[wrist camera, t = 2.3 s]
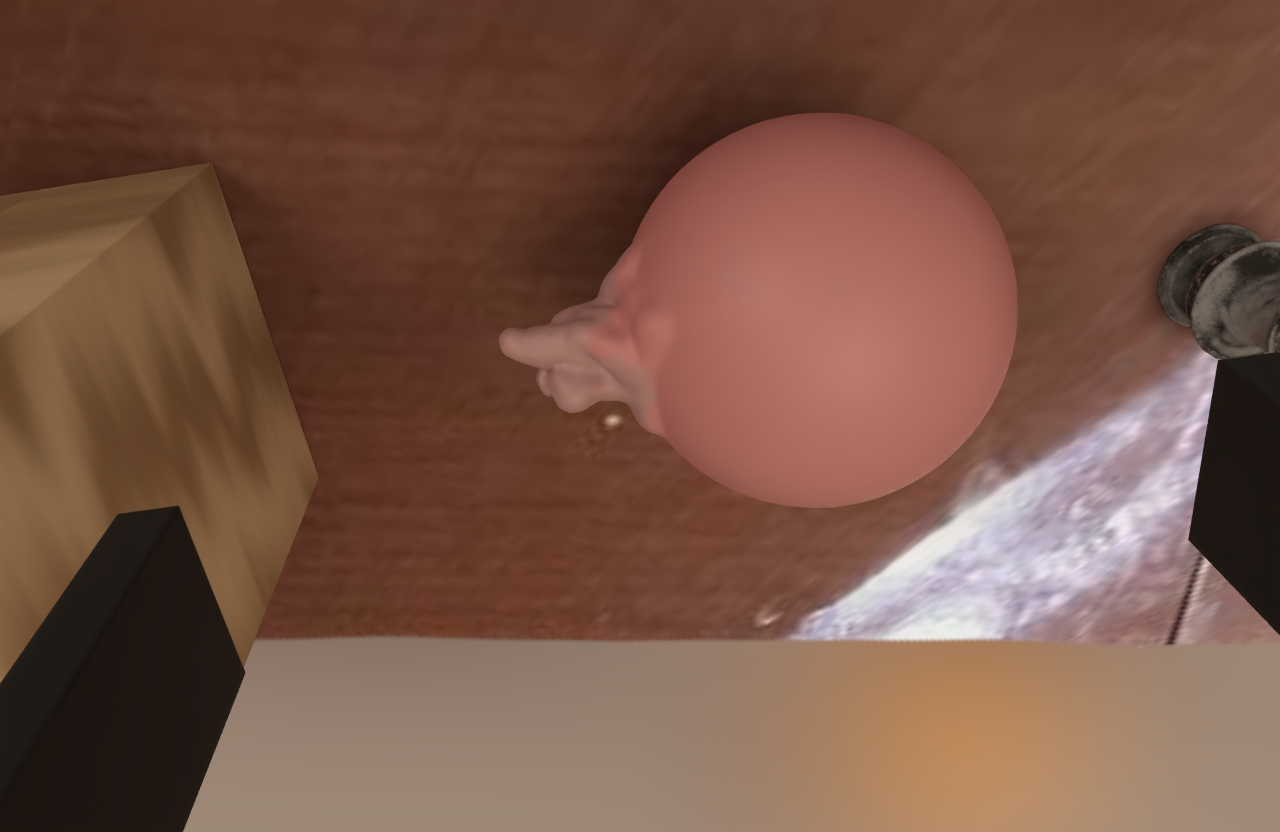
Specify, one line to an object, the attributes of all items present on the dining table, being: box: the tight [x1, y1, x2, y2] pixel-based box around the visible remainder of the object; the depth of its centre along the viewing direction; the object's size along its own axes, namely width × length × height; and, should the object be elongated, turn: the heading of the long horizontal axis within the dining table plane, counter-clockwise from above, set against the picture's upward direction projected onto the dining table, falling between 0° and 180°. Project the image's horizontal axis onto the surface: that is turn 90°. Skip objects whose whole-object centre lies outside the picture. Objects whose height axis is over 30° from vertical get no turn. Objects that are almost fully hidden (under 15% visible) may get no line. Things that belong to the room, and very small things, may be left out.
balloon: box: [499, 113, 1018, 508], centre depth 40 cm, size 15×20×15 cm
